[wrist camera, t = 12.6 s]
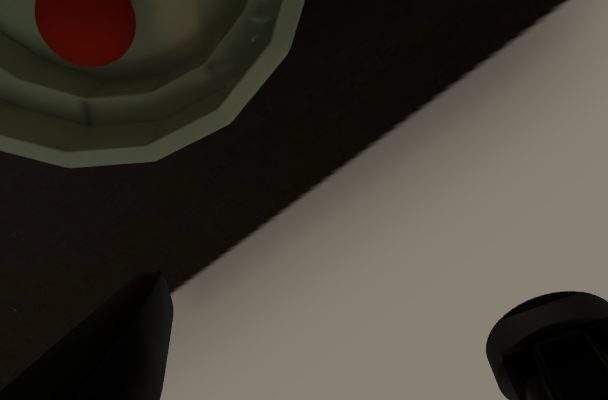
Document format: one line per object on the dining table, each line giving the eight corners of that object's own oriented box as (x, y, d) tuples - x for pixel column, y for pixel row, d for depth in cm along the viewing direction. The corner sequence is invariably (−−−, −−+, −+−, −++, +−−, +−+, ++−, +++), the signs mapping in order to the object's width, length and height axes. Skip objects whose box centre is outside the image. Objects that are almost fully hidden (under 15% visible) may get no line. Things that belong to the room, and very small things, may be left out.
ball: (53, 11, 18) (139, -1, 18) (63, 88, 17) (151, 75, 18) (11, -48, 15) (114, -60, 15) (20, 43, 14) (128, 28, 15)
